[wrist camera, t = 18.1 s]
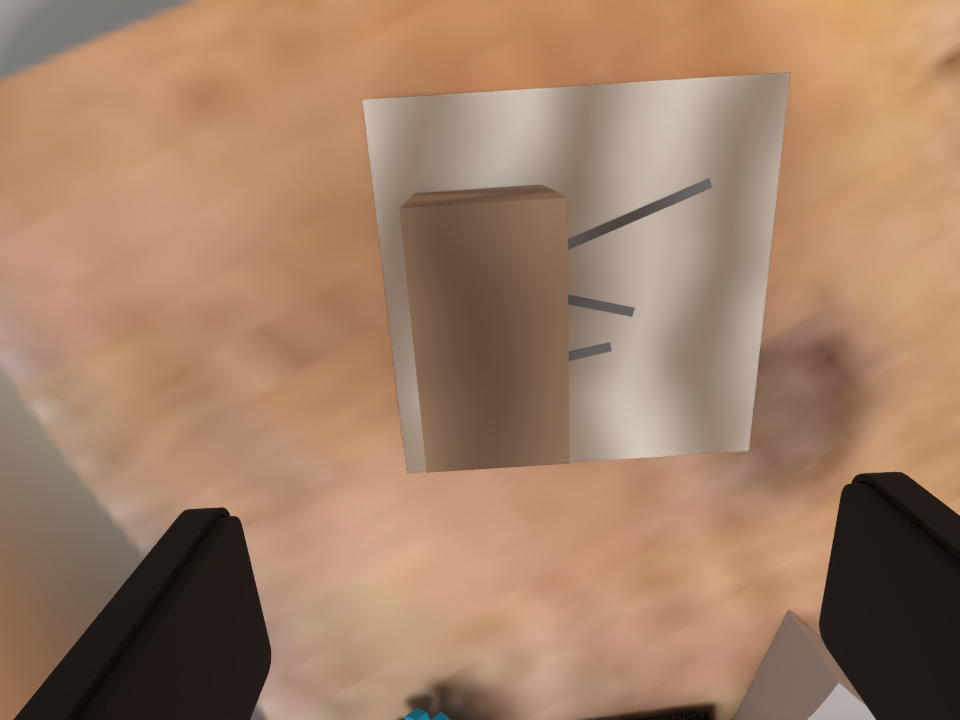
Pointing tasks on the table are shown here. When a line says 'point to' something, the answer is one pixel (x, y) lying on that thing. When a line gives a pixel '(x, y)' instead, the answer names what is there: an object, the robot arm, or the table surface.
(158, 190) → the table surface
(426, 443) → the block
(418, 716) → the gear
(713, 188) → the board
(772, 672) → the ramp
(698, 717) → the cpu cooler
